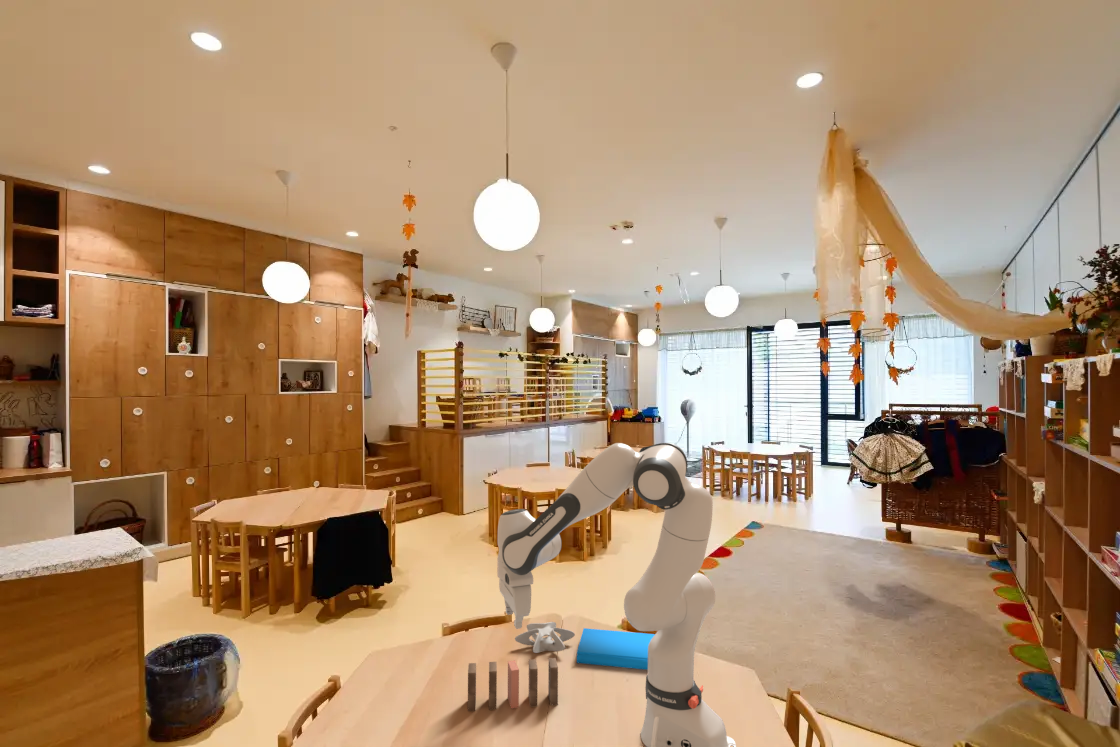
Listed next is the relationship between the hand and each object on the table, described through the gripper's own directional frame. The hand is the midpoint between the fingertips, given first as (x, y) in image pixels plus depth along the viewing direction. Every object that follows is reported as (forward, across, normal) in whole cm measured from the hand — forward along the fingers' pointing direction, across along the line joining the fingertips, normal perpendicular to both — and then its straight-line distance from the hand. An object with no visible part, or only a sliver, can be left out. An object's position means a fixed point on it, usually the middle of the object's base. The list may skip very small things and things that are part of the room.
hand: (513, 620), depth 147 cm
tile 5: (+22, +2, +11) cm, 25 cm away
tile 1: (+22, -2, -11) cm, 25 cm away
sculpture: (+22, -28, +18) cm, 40 cm away
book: (+23, -15, +39) cm, 47 cm away
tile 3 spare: (+22, 0, 0) cm, 22 cm away
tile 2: (+22, -1, -6) cm, 23 cm away
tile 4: (+22, +1, +5) cm, 23 cm away
